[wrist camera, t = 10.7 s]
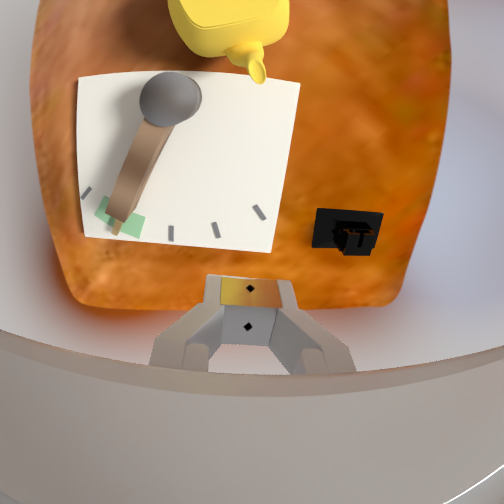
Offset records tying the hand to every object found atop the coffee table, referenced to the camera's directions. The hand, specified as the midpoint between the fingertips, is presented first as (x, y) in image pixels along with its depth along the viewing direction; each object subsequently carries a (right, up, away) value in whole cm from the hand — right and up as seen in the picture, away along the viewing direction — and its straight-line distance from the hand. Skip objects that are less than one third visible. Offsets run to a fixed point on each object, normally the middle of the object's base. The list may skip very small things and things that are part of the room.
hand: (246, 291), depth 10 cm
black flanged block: (+13, +5, +26) cm, 29 cm away
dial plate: (-8, +12, +20) cm, 24 cm away
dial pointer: (-11, +11, +17) cm, 23 cm away
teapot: (-2, +26, +12) cm, 29 cm away
